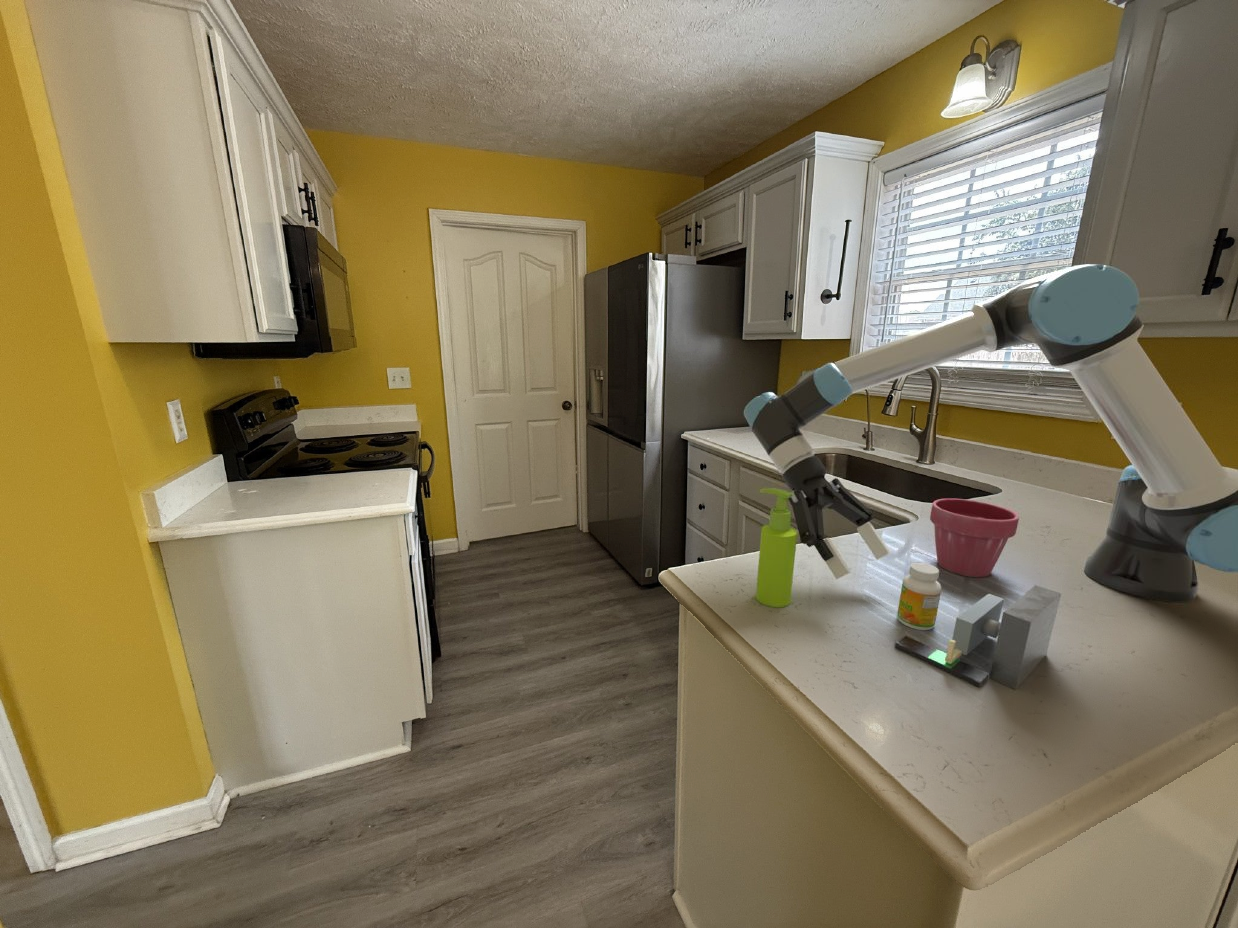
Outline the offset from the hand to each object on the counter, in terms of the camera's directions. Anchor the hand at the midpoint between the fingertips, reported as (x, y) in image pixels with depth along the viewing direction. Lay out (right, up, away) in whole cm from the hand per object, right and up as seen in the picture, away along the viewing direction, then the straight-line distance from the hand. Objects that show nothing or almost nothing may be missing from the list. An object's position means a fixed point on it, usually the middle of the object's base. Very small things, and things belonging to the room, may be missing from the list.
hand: (864, 565), depth 88 cm
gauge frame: (+9, -10, -13) cm, 19 cm away
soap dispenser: (-16, -6, +2) cm, 17 cm away
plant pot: (+27, -4, +15) cm, 31 cm away
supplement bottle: (+6, -8, -5) cm, 11 cm away
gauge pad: (+9, -9, -14) cm, 19 cm away
